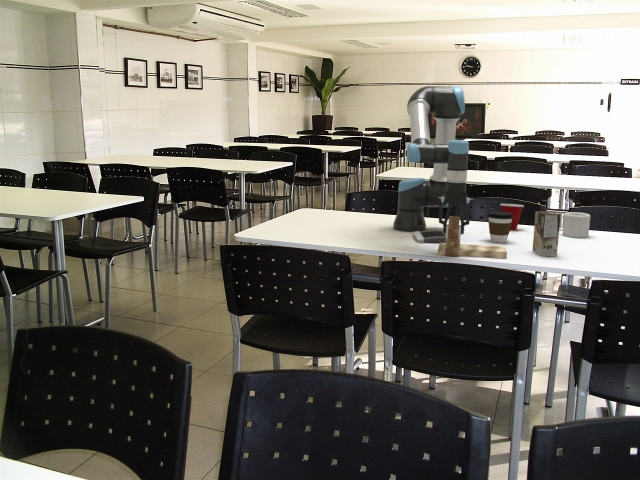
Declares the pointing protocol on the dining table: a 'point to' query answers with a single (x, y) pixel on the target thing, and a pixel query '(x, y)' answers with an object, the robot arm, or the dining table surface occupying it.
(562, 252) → the dining table surface
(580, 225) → the mug
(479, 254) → the board
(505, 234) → the coffee cup
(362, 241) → the dining table surface
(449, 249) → the gauge
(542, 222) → the coffee box
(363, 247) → the dining table surface
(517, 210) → the plastic cup
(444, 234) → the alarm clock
